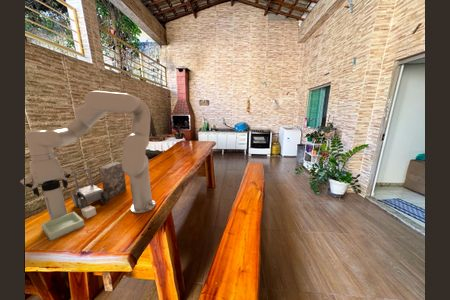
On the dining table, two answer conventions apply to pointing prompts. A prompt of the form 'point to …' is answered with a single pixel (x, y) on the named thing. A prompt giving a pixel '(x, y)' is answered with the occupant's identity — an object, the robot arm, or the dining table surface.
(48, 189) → the travel mug
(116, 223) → the dining table surface
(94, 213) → the white block
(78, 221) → the tray
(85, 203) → the trolley
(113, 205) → the dining table surface
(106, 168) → the stone block
